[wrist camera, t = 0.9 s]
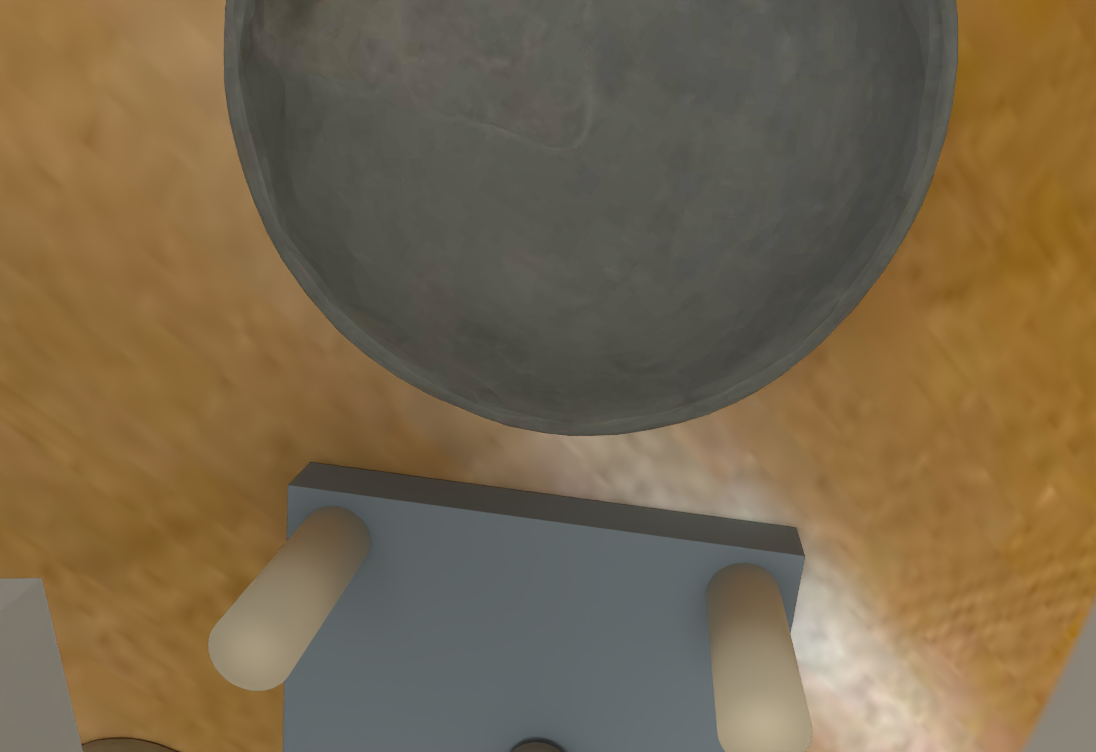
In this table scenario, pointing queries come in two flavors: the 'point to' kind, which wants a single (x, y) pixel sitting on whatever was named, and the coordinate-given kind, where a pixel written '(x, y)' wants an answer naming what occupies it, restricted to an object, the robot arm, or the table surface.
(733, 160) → the bowl
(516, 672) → the stool seat
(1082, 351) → the table surface
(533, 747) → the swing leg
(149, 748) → the teapot
